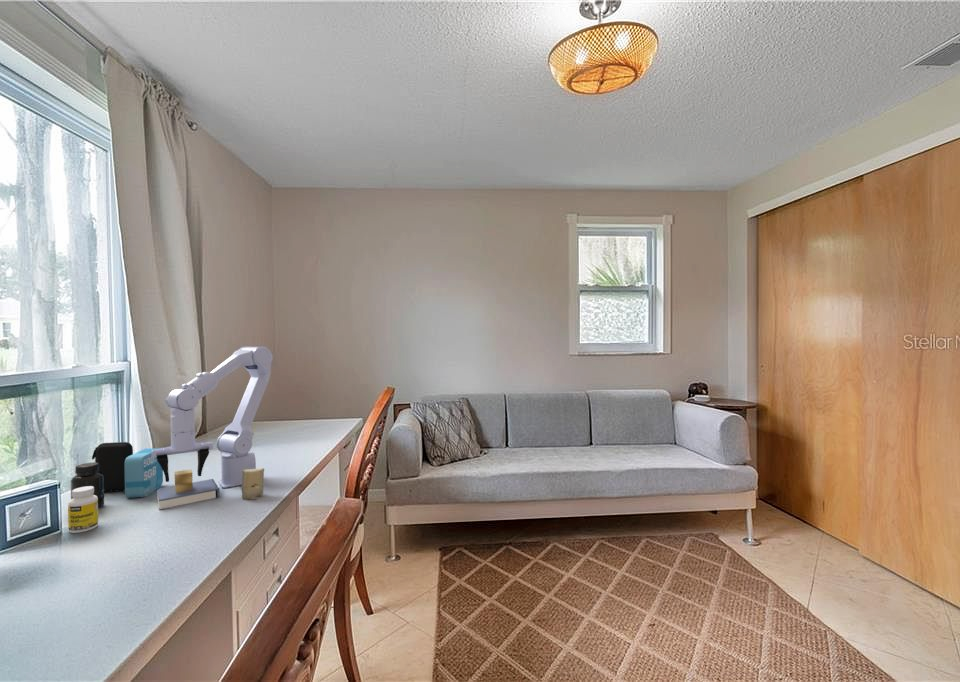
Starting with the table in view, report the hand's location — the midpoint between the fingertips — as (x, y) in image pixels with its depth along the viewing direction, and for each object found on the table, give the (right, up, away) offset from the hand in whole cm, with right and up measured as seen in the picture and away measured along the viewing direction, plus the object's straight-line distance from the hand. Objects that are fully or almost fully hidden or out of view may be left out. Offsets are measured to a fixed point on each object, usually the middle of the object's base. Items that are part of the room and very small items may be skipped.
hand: (183, 478), depth 127 cm
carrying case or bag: (-26, -6, +6) cm, 27 cm away
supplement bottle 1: (-21, -6, -7) cm, 23 cm away
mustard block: (0, -3, 0) cm, 3 cm away
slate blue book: (+1, -6, +1) cm, 6 cm away
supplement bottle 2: (-11, -7, -19) cm, 23 cm away
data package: (-16, -6, +6) cm, 18 cm away
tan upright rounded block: (+19, -6, +1) cm, 20 cm away
